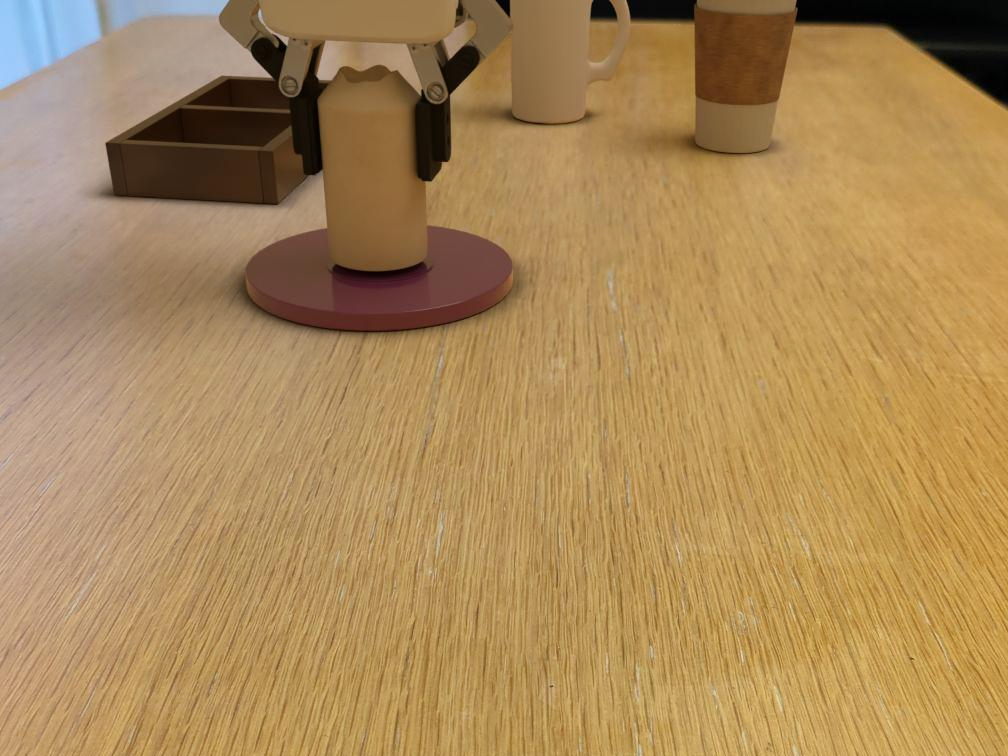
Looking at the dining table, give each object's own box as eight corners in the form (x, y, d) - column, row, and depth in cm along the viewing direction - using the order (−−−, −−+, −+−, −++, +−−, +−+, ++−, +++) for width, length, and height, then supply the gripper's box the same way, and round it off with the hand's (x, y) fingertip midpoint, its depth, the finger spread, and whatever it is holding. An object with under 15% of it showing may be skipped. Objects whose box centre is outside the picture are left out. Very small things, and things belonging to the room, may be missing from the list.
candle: (312, 265, 67) (295, 74, 61) (356, 235, 71) (344, 55, 66) (404, 278, 65) (395, 83, 60) (442, 246, 70) (437, 63, 64)
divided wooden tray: (113, 195, 82) (104, 142, 80) (226, 119, 100) (221, 75, 99) (278, 204, 81) (272, 151, 79) (361, 126, 99) (358, 81, 97)
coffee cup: (760, 163, 91) (785, -57, 83) (661, 146, 95) (675, -66, 87) (801, 140, 97) (828, -67, 89) (706, 126, 101) (723, -75, 93)
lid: (207, 321, 63) (204, 301, 63) (293, 232, 76) (291, 214, 75) (489, 340, 62) (489, 319, 61) (529, 245, 74) (529, 228, 74)
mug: (511, 125, 100) (511, -34, 94) (506, 106, 106) (506, -45, 100) (631, 124, 101) (640, -33, 95) (619, 106, 107) (627, -44, 100)
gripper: (545, -219, 58) (539, 161, 68) (202, -225, 60) (244, 146, 70) (523, -219, 52) (520, 200, 62) (141, -226, 54) (196, 183, 63)
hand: (373, 168), depth 66 cm, fingers closed on candle, 5 cm apart
